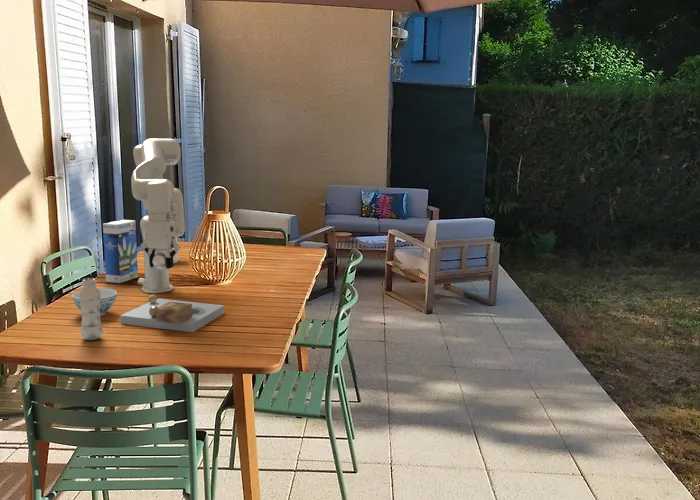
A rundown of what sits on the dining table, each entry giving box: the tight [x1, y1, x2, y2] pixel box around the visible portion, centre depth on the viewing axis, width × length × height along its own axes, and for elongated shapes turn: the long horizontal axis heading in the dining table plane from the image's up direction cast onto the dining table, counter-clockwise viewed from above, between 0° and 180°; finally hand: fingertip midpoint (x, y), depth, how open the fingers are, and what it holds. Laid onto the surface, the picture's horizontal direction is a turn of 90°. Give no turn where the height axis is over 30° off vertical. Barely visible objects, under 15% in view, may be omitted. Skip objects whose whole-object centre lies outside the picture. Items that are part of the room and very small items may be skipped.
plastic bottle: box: [79, 277, 104, 341], centre depth 206 cm, size 6×7×20 cm
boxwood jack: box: [147, 294, 158, 303], centre depth 238 cm, size 3×3×3 cm
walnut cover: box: [156, 302, 192, 324], centre depth 219 cm, size 9×9×5 cm
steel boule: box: [152, 253, 167, 269], centre depth 228 cm, size 6×6×6 cm
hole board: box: [120, 297, 225, 333], centre depth 231 cm, size 28×23×3 cm
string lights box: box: [102, 219, 139, 284], centre depth 282 cm, size 13×8×26 cm, turn 161°
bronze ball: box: [149, 306, 158, 317], centre depth 222 cm, size 4×4×4 cm
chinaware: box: [71, 288, 118, 317], centre depth 233 cm, size 15×15×8 cm
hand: (161, 266), depth 228 cm, fingers closed on steel boule, 6 cm apart
